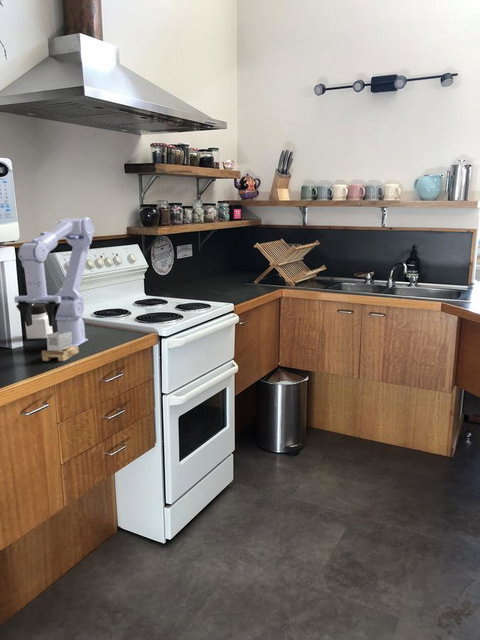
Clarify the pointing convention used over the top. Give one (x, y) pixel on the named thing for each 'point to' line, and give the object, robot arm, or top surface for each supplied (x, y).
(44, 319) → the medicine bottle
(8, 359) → the top surface
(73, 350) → the stand
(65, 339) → the housing
